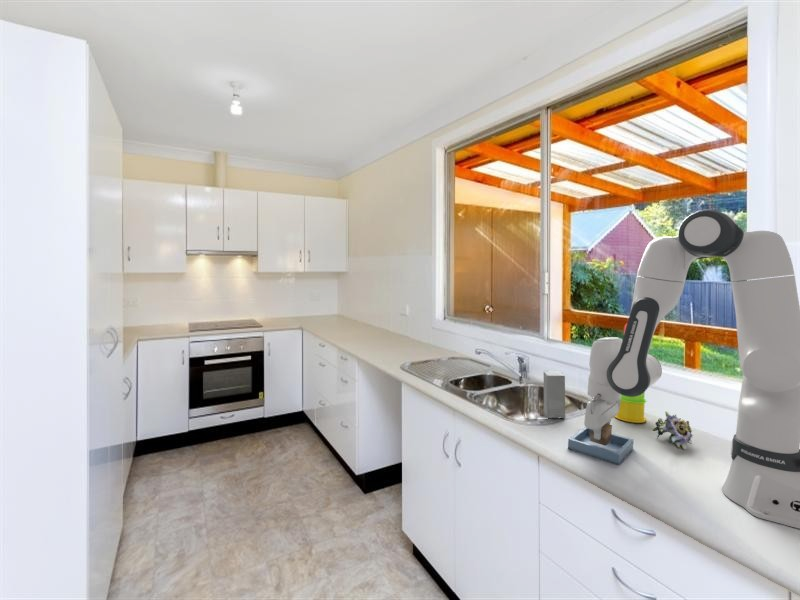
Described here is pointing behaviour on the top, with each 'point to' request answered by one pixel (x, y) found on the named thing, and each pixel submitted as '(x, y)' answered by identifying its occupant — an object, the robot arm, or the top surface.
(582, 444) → the sorting tray
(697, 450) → the top surface
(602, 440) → the walnut block
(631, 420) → the stacking cups
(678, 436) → the passion flower
